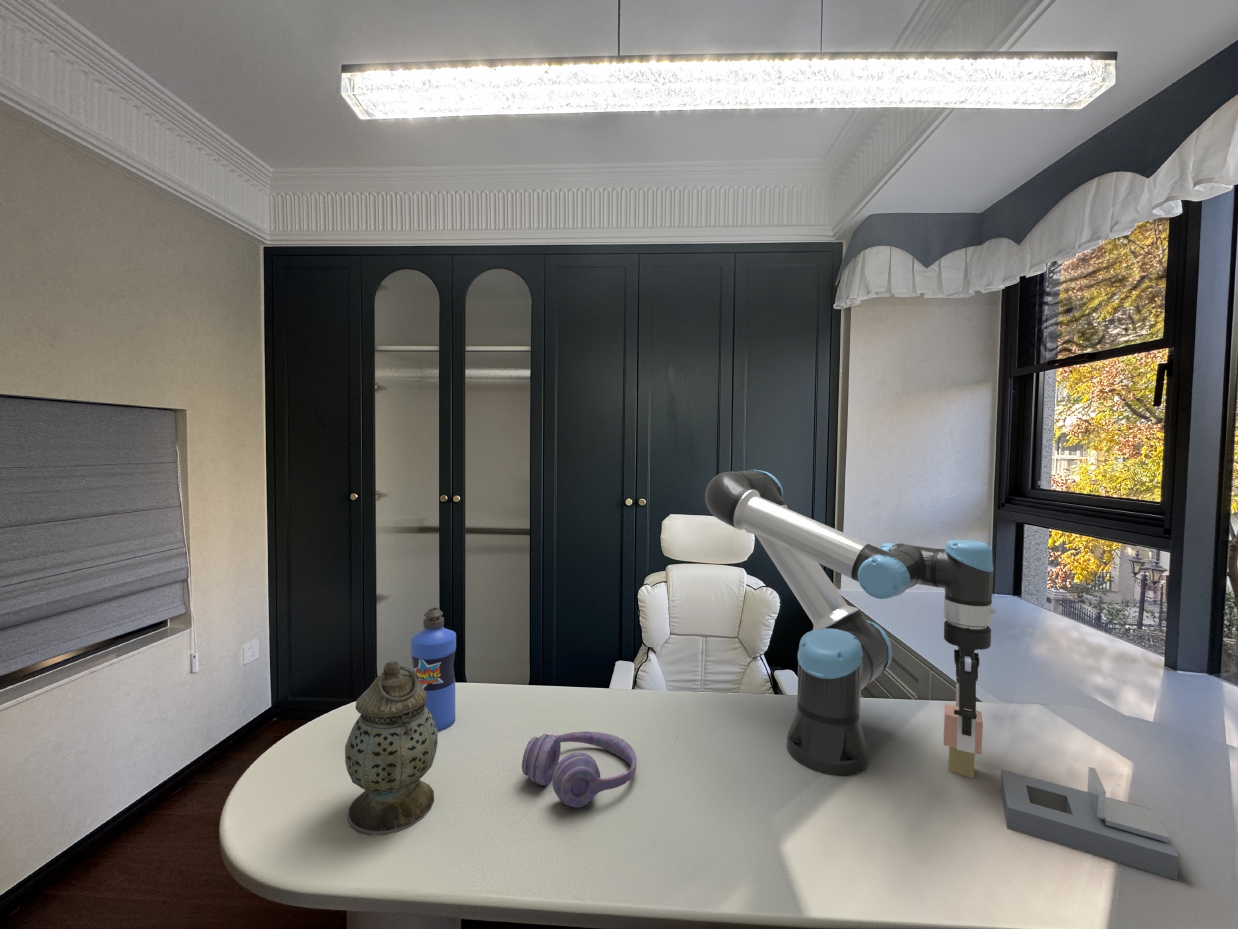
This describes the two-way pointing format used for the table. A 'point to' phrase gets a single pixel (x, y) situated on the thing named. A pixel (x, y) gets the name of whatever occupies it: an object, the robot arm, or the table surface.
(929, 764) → the table surface
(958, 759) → the plug
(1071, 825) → the socket block
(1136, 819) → the shutter
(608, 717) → the table surface
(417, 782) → the lantern
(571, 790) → the headphones
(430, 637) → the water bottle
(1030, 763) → the table surface
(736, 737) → the table surface
